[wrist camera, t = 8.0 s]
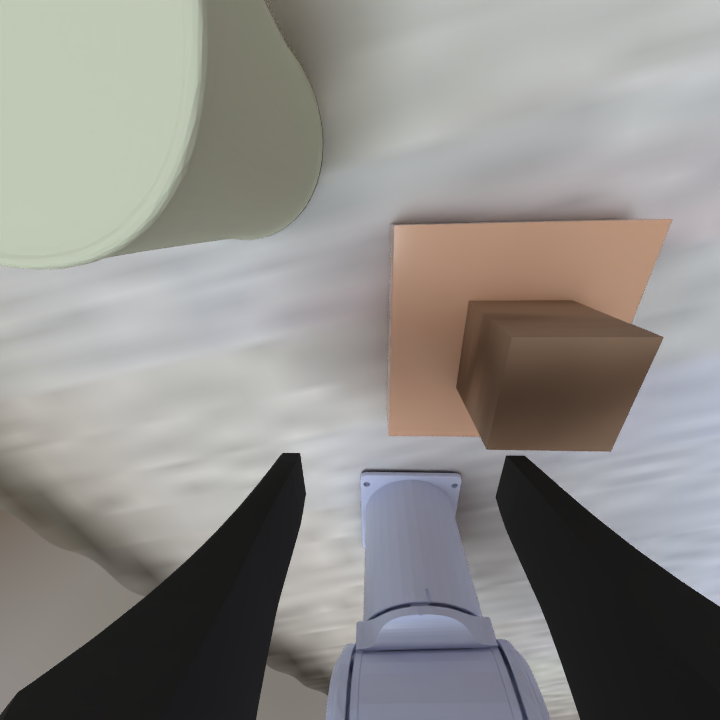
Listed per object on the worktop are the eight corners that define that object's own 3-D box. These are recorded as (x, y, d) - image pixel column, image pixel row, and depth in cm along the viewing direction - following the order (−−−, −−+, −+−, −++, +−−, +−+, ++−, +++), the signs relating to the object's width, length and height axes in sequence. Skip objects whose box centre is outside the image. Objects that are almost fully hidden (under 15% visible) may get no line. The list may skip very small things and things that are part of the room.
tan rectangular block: (558, 408, 21) (586, 437, 18) (386, 408, 21) (388, 435, 18) (619, 219, 15) (672, 219, 13) (390, 224, 16) (394, 225, 13)
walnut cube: (545, 388, 17) (610, 451, 12) (455, 387, 17) (486, 449, 12) (572, 300, 14) (663, 337, 10) (468, 300, 15) (511, 336, 10)
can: (316, 3, 12) (-61, -1434, 2) (328, 239, 16) (242, 276, 6) (106, 11, 13) (-1349, -1121, 2) (167, 240, 17) (-204, 277, 6)
